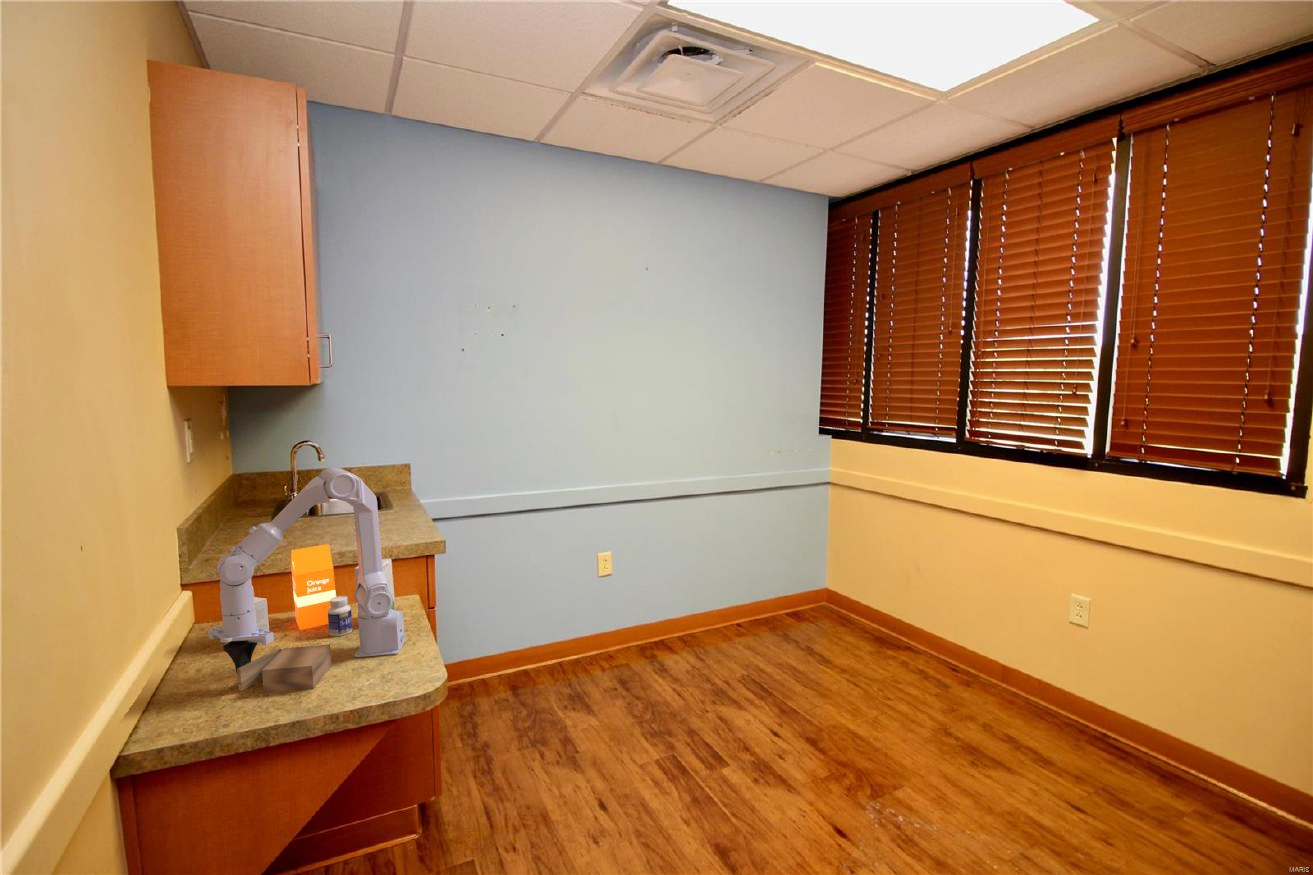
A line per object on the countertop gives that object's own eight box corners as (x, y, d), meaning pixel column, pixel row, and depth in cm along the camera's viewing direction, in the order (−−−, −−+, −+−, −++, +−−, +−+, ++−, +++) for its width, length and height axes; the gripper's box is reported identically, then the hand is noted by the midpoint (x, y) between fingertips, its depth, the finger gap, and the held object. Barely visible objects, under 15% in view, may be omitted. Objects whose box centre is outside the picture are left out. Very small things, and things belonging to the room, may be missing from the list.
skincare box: (382, 627, 158) (378, 568, 157) (357, 627, 159) (352, 568, 157) (396, 614, 167) (393, 558, 165) (372, 614, 167) (368, 558, 165)
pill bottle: (343, 637, 153) (340, 602, 152) (324, 636, 154) (321, 601, 153) (357, 628, 158) (354, 595, 157) (339, 627, 159) (336, 594, 158)
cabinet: (331, 666, 138) (329, 644, 137) (313, 688, 128) (311, 665, 127) (285, 670, 136) (283, 648, 136) (263, 693, 126) (261, 670, 126)
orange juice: (295, 620, 164) (289, 547, 162) (332, 612, 169) (326, 541, 167) (299, 630, 158) (293, 553, 155) (338, 621, 163) (332, 547, 161)
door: (284, 667, 137) (282, 648, 136) (242, 690, 127) (240, 669, 127) (280, 667, 137) (278, 647, 137) (238, 690, 128) (235, 668, 127)
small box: (226, 643, 151) (221, 602, 150) (248, 634, 156) (244, 594, 155) (248, 648, 148) (244, 606, 146) (270, 639, 153) (266, 597, 152)
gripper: (192, 615, 126) (198, 679, 127) (250, 621, 122) (256, 686, 124) (223, 602, 132) (229, 663, 134) (280, 607, 129) (285, 670, 131)
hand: (244, 673), depth 129 cm, fingers closed, pressing on door
